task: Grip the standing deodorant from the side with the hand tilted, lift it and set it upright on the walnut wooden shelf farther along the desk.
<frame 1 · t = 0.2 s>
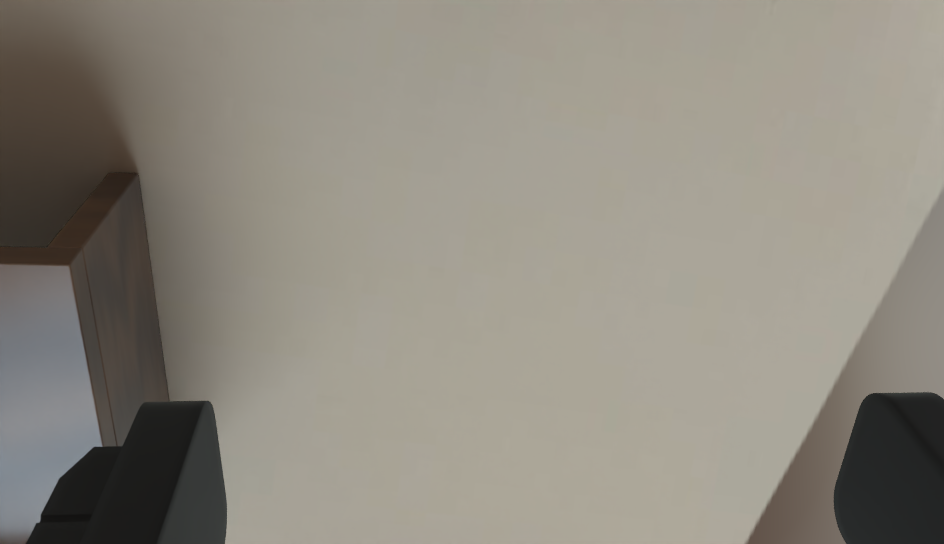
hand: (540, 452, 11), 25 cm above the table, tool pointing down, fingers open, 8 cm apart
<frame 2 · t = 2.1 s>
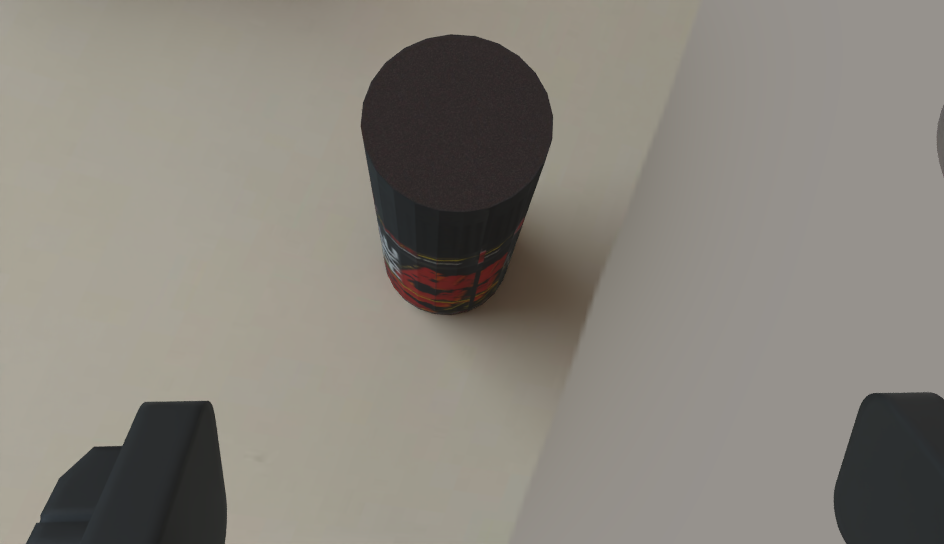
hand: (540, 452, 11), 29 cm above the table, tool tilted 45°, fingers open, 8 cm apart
deodorant: (446, 255, 41), on the table
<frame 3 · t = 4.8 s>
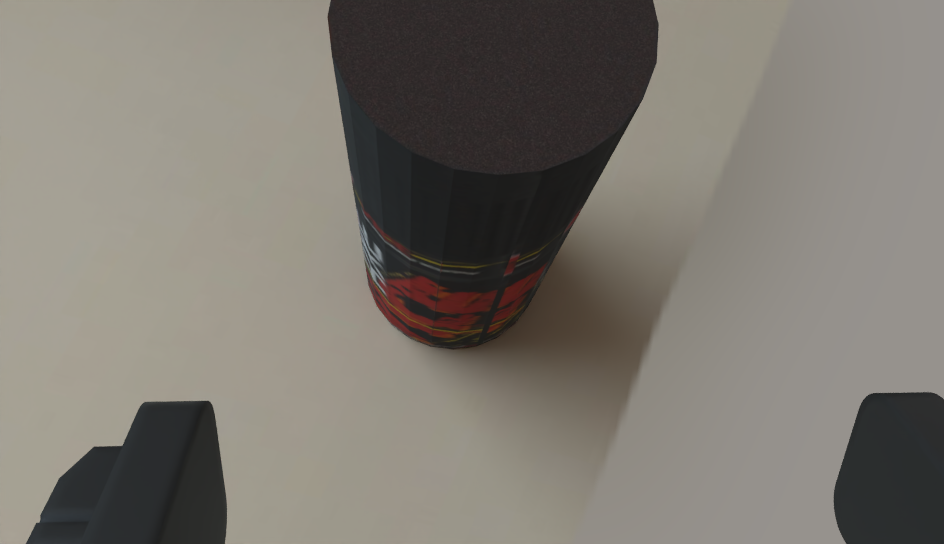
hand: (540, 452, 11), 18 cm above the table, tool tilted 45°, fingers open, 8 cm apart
deodorant: (452, 266, 30), on the table
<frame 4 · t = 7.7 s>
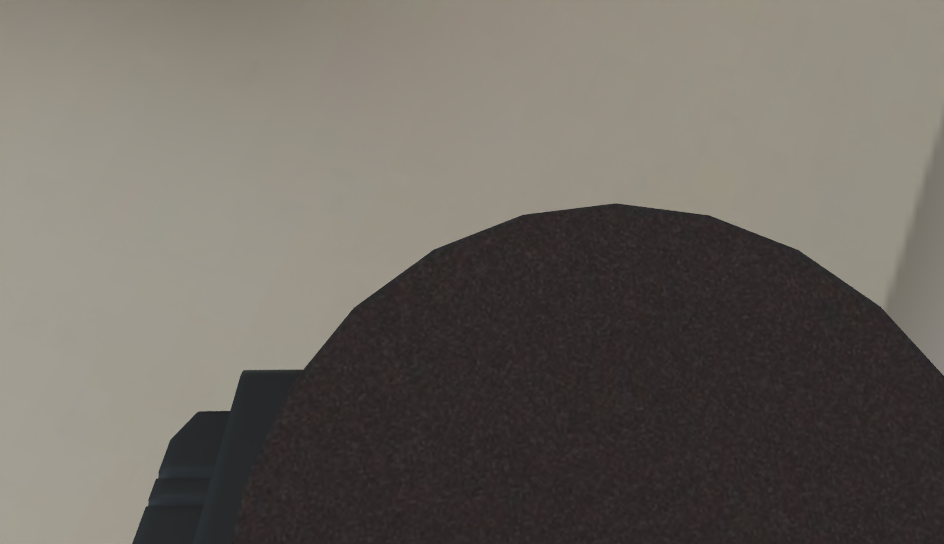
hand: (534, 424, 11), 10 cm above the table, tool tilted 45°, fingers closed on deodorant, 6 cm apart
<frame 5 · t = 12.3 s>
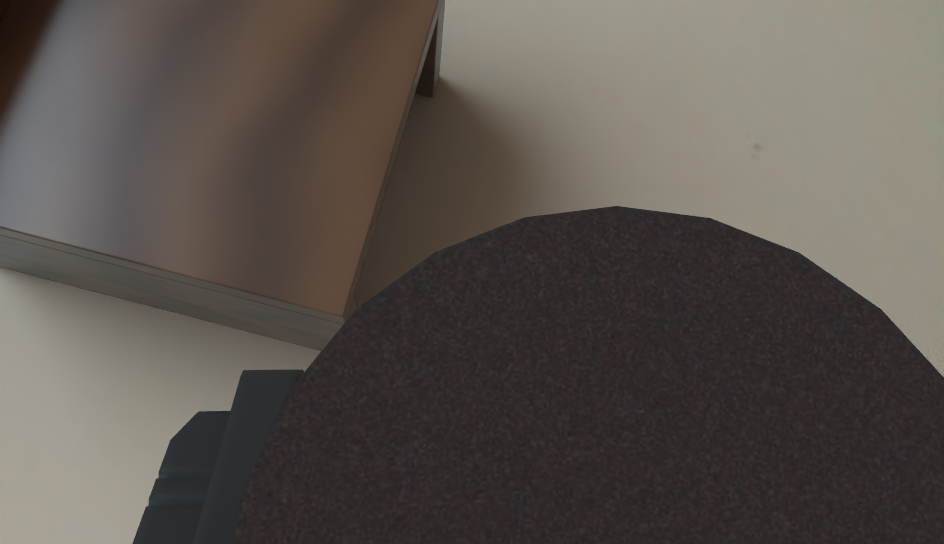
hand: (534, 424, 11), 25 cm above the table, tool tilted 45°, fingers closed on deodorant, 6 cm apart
shelf: (226, 165, 38), on the table
when the fingers open (18 cm above the table, at t = 17.3 s): deodorant stays where it is, resting on shelf.
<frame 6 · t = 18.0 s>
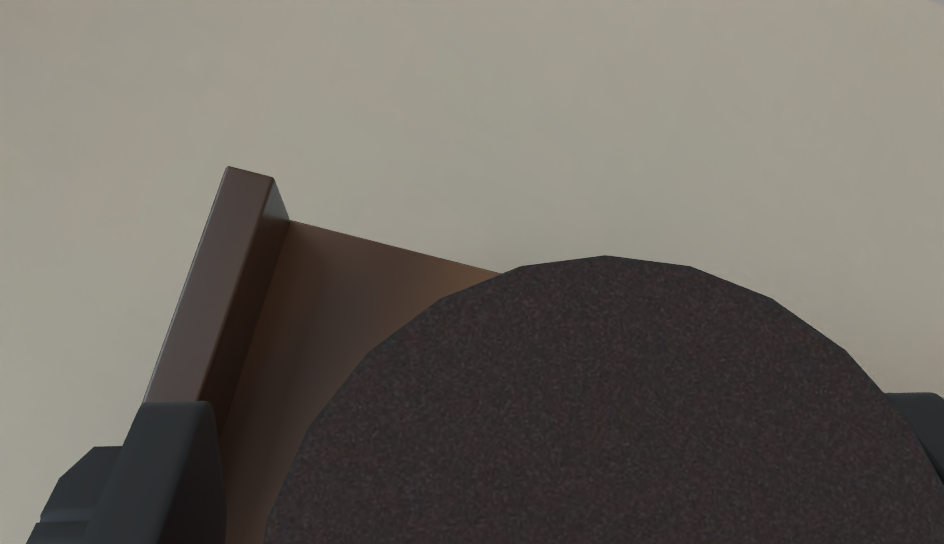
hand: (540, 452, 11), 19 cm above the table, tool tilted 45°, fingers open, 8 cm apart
shelf: (455, 538, 29), on the table
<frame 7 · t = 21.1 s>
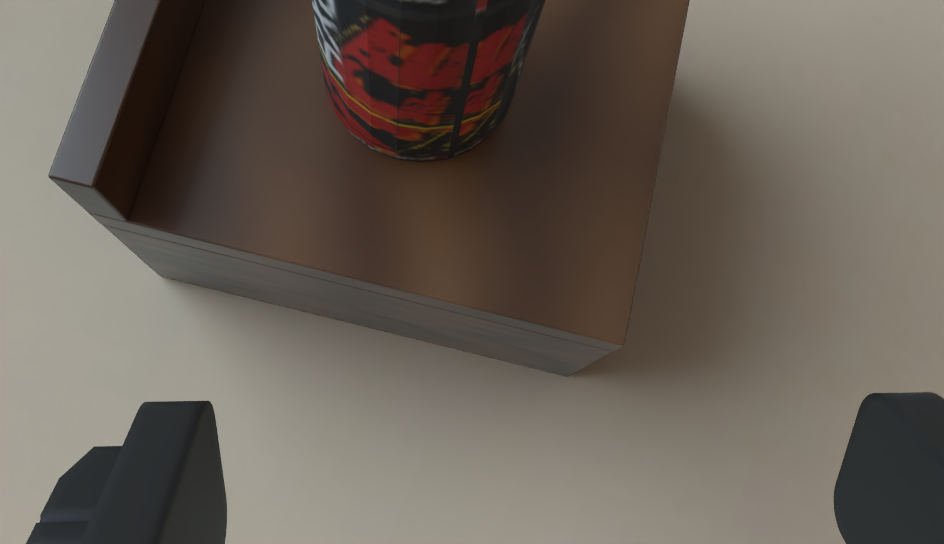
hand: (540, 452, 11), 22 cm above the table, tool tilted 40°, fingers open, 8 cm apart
shelf: (410, 159, 34), on the table
deodorant: (420, 74, 27), point 8 cm above the table, touching shelf
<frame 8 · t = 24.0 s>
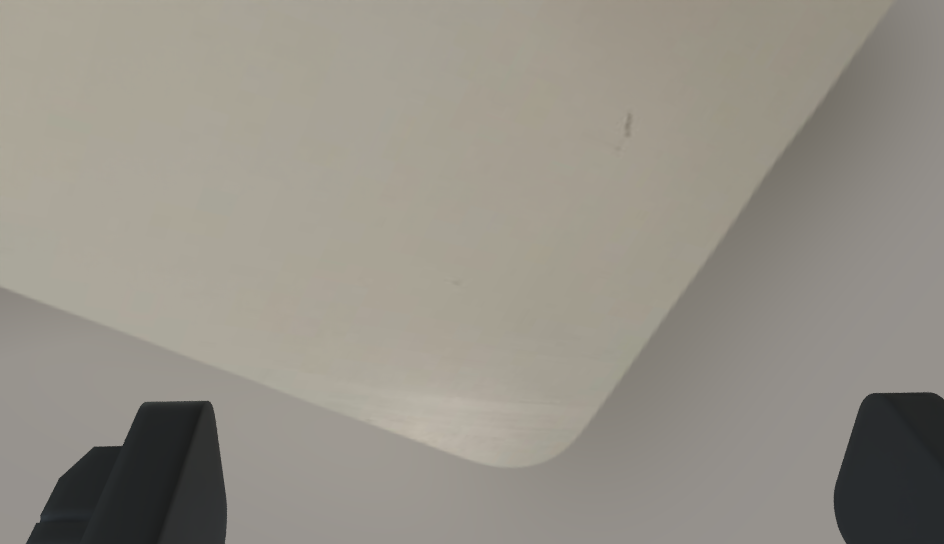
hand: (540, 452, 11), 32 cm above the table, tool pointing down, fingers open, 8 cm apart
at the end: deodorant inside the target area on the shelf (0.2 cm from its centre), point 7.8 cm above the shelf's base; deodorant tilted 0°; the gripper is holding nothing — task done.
